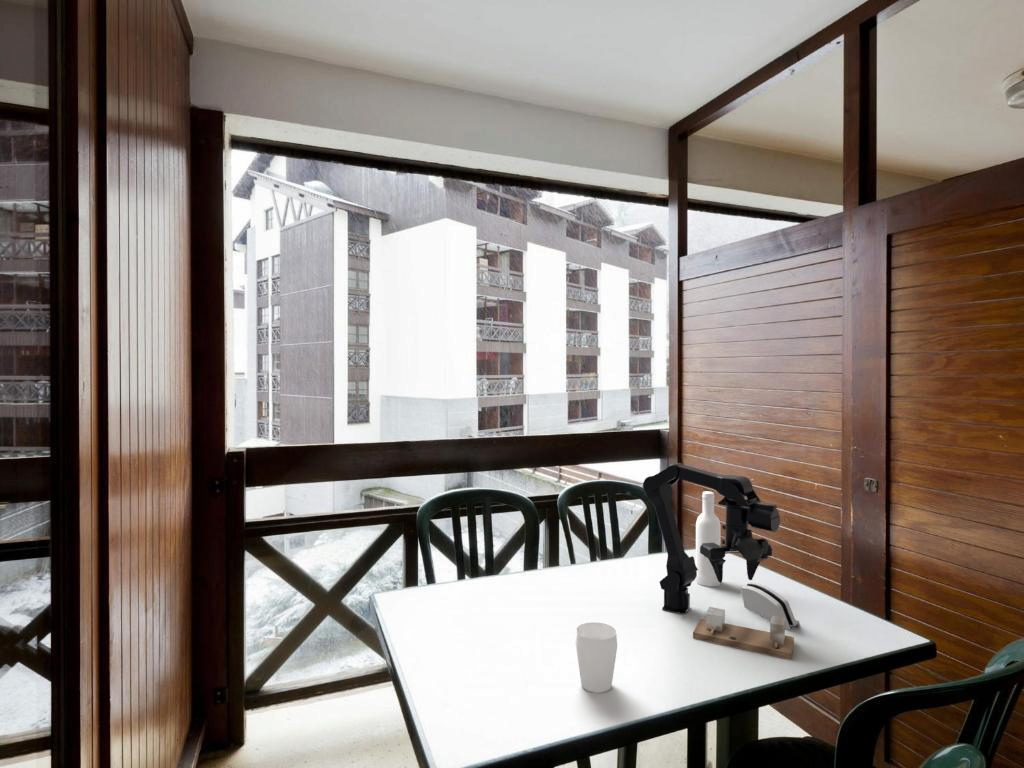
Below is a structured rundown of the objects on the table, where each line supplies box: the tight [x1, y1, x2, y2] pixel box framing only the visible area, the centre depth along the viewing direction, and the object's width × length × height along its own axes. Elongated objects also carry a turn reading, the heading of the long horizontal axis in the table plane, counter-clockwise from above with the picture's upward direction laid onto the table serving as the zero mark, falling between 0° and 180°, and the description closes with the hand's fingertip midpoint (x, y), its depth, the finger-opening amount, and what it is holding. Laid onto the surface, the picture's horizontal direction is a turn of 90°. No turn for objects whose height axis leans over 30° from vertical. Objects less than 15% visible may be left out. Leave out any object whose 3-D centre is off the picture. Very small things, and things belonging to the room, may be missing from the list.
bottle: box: [695, 490, 722, 588], centre depth 188 cm, size 8×8×30 cm
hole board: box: [692, 616, 795, 660], centre depth 146 cm, size 23×10×6 cm, turn 60°
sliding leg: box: [705, 606, 726, 634], centre depth 149 cm, size 4×8×4 cm, turn 150°
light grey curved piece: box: [740, 582, 802, 631], centre depth 161 cm, size 17×5×10 cm, turn 18°
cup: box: [575, 621, 618, 694], centre depth 125 cm, size 9×9×12 cm
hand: (735, 580), depth 153 cm, fingers open, 9 cm apart
